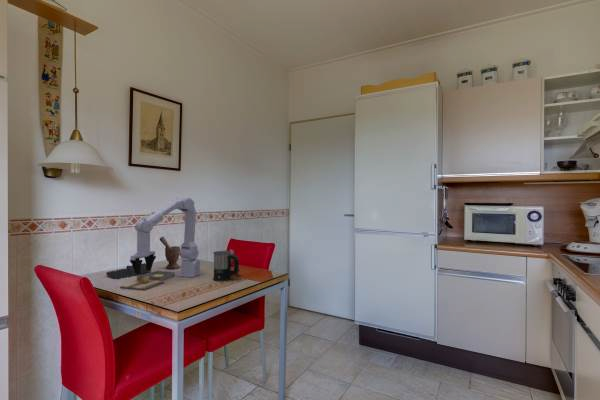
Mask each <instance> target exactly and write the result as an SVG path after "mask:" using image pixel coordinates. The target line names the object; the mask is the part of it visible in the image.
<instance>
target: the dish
mask: <svg viewBox="0 0 600 400" xmlns="http://www.w3.org/2000/svg"><path fill="white" fill-rule="evenodd" d="M144 275H146V276H149V280H158V281H163V282H164V281H165V280H167V279H170V278H173V277H175V276H176V272H175V271H165V270H153V271H151V272H150V273H147V274H144Z"/></svg>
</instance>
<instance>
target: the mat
mask: <svg viewBox="0 0 600 400" xmlns="http://www.w3.org/2000/svg"><path fill="white" fill-rule="evenodd" d="M163 284H165V281H163V282H162V283H159V284H157V285H154V286H151V287H149V288H146V289H138V288H128V287H121V286H120V287H119V289H125V290H134V291H147V290H150V289H152V288H155V287H158V286H160V285H163Z"/></svg>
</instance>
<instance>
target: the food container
mask: <svg viewBox="0 0 600 400" xmlns="http://www.w3.org/2000/svg"><path fill="white" fill-rule="evenodd" d="M229 251H230V252H231V253H230V254H231V255H235V251H234V250H233V249H232V248H231V249H230V250H229ZM232 264H233V259H231V267H232V266H233V265H232Z"/></svg>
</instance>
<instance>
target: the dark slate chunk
mask: <svg viewBox="0 0 600 400" xmlns="http://www.w3.org/2000/svg"><path fill="white" fill-rule="evenodd" d="M150 272H152V270H150V271H148V270H146V262H142V264H141V269H140V274H135V271H134V268H133V265H132V264H131V265H126V268H120V269H117V270H111V271H106V274H105V275H107V276H108V277H111V278H112V279H114V280H121V278H122V279H126V278H127V277H128V278H134V277H137V276H139V275H144V274H147V273H150ZM133 276H134V277H133Z"/></svg>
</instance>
